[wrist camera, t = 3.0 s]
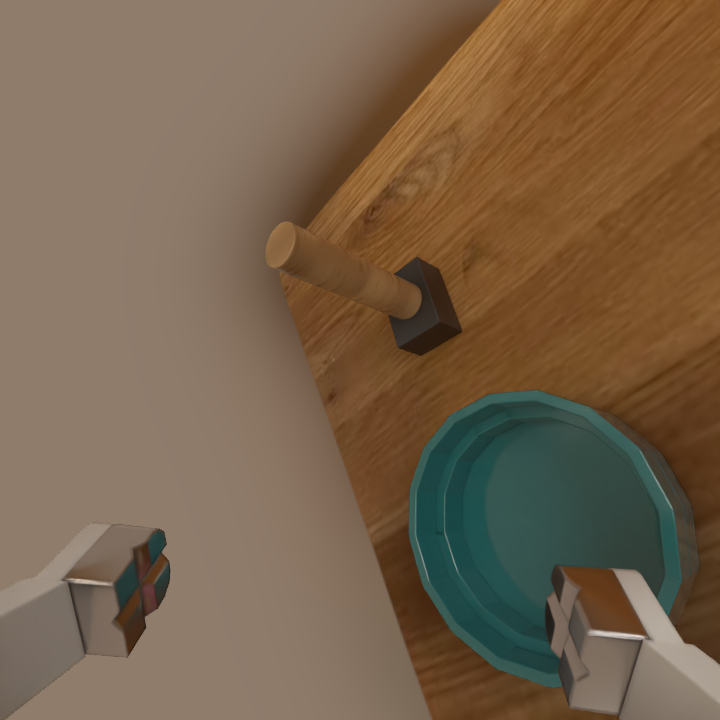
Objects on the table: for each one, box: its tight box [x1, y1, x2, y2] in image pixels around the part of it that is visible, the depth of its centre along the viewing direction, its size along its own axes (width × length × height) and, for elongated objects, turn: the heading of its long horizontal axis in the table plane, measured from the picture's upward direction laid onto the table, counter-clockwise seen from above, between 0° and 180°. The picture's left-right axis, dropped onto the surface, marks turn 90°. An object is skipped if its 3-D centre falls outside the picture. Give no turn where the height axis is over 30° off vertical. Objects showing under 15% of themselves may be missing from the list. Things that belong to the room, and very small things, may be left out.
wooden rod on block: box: [266, 222, 461, 355], centre depth 32 cm, size 6×4×15 cm, turn 17°
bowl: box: [409, 390, 699, 688], centre depth 26 cm, size 14×14×5 cm
